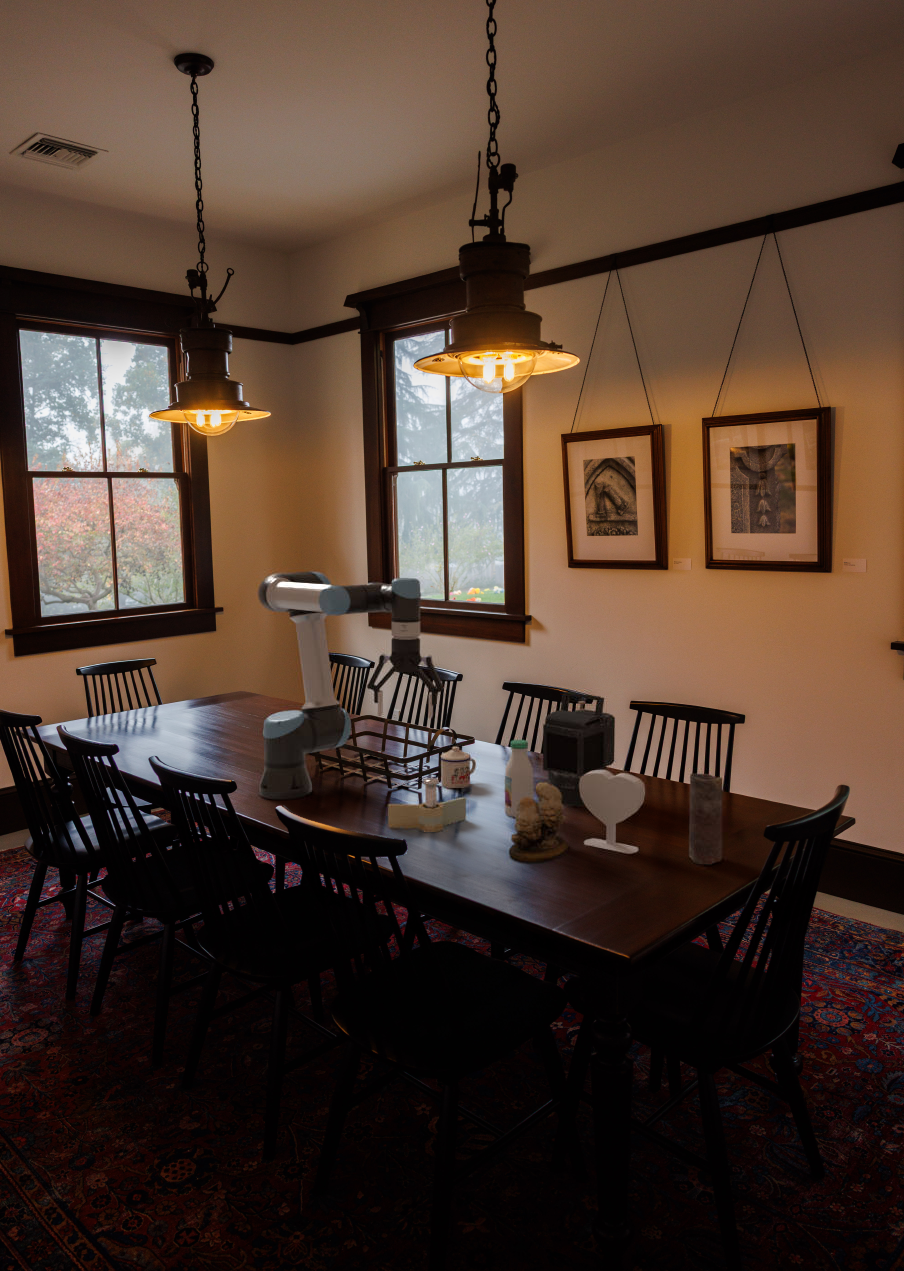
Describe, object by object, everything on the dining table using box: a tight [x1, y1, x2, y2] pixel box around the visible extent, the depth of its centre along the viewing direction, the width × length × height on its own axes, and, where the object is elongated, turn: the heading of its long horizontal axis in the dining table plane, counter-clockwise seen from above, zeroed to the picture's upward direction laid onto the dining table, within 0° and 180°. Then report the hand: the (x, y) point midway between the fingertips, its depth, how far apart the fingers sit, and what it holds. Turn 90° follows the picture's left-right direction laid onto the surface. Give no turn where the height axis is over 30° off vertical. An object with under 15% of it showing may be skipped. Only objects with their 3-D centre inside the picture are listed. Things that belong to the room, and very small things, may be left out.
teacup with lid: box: [440, 746, 477, 789], centre depth 261 cm, size 12×9×12 cm
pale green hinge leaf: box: [418, 796, 467, 826], centre depth 224 cm, size 14×6×6 cm, turn 128°
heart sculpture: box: [579, 769, 646, 855], centre depth 208 cm, size 16×5×18 cm, turn 57°
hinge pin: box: [422, 777, 440, 809], centre depth 222 cm, size 4×4×13 cm
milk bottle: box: [504, 739, 535, 818], centre depth 232 cm, size 8×8×20 cm
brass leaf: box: [387, 801, 445, 833], centre depth 223 cm, size 14×6×6 cm, turn 83°
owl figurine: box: [508, 781, 569, 864], centre depth 205 cm, size 18×12×17 cm, turn 139°
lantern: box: [542, 691, 616, 807], centre depth 245 cm, size 15×18×30 cm
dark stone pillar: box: [688, 773, 723, 866], centre depth 199 cm, size 8×7×20 cm
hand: (405, 716), depth 230 cm, fingers open, 13 cm apart
